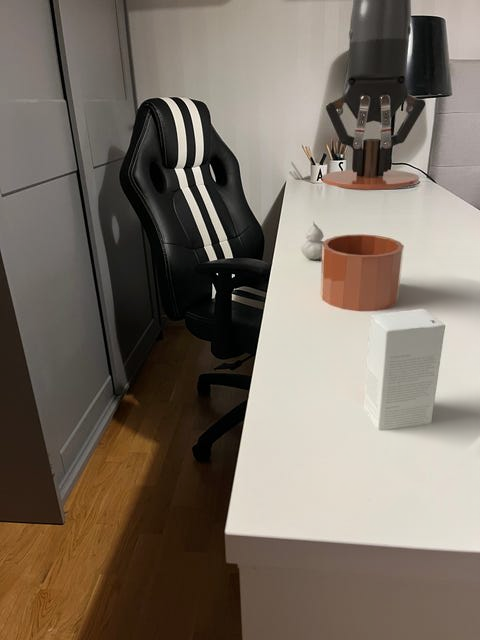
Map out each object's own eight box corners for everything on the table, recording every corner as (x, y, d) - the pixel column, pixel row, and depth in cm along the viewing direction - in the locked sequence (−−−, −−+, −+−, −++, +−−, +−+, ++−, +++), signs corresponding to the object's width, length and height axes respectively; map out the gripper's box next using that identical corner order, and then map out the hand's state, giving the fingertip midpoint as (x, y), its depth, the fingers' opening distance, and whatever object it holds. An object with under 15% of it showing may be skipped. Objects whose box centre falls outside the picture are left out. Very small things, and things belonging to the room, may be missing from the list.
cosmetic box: (412, 404, 56) (425, 307, 51) (431, 427, 52) (448, 324, 47) (360, 411, 55) (369, 313, 50) (376, 435, 52) (387, 331, 47)
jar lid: (355, 173, 81) (357, 134, 79) (435, 181, 72) (441, 137, 70) (302, 186, 73) (303, 142, 70) (386, 197, 64) (390, 146, 61)
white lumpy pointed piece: (300, 254, 108) (301, 218, 105) (331, 254, 107) (333, 217, 104) (301, 262, 103) (301, 224, 100) (333, 262, 103) (335, 224, 99)
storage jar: (348, 280, 93) (352, 230, 89) (411, 297, 84) (418, 243, 80) (305, 300, 85) (307, 246, 81) (370, 321, 77) (375, 262, 73)
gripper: (431, 37, 67) (416, 171, 74) (325, 43, 70) (321, 172, 77) (440, 32, 60) (423, 179, 67) (323, 39, 63) (319, 180, 70)
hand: (369, 174), depth 72 cm, fingers closed on jar lid, 2 cm apart
